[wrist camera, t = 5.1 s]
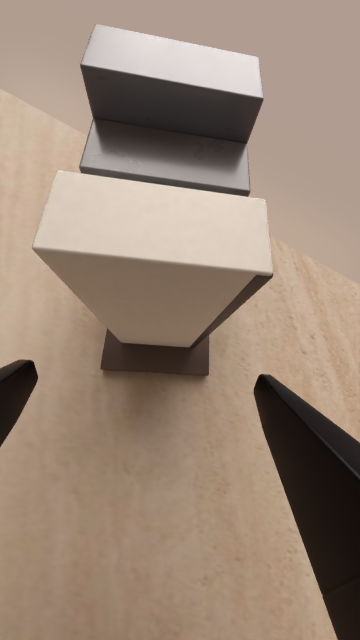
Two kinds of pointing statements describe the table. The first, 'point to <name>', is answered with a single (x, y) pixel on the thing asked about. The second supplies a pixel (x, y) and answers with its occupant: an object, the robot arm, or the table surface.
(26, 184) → the table surface
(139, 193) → the white book
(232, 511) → the table surface
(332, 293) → the table surface
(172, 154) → the grey book shelf
